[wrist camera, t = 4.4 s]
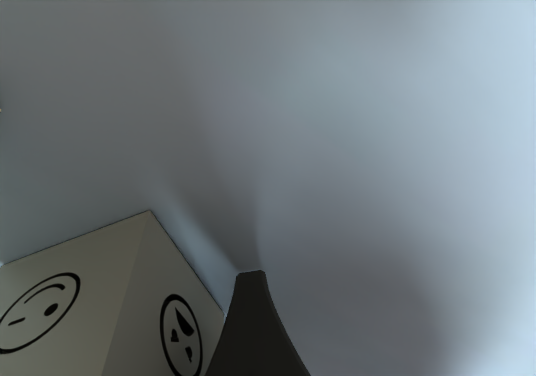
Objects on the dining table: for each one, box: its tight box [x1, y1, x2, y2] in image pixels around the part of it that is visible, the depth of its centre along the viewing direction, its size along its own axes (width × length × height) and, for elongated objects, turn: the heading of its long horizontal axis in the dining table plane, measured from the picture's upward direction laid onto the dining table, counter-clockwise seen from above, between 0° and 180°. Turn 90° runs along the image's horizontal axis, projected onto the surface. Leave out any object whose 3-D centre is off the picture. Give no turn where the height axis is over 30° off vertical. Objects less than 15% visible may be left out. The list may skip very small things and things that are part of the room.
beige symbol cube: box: [0, 210, 224, 376], centre depth 11 cm, size 5×5×5 cm
